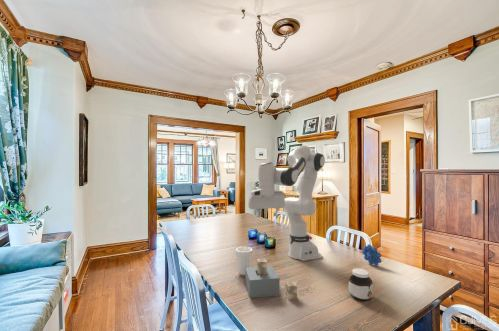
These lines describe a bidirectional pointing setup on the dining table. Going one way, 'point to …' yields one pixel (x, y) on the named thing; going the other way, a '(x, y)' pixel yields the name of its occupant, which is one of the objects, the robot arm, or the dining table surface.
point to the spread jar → (360, 285)
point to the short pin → (291, 290)
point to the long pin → (261, 267)
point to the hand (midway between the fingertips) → (266, 216)
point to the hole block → (262, 283)
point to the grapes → (371, 255)
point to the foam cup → (243, 258)
